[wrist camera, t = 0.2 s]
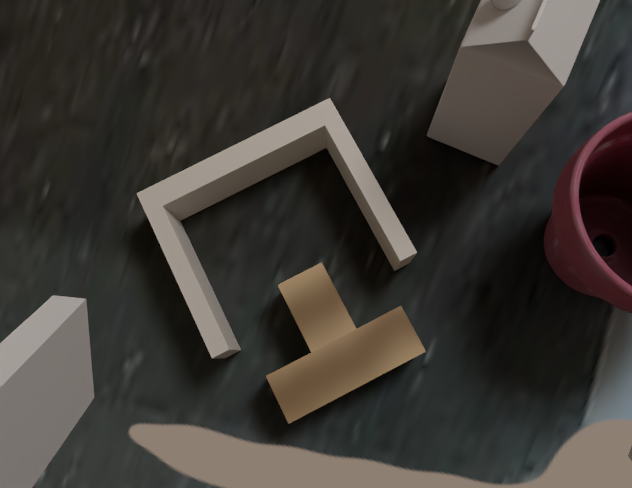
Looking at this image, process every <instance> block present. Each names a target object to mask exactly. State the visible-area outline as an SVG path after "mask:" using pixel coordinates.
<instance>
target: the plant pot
mask: <svg viewBox="0 0 632 488" xmlns="http://www.w3.org/2000/svg"><path fill="white" fill-rule="evenodd" d="M597 237H605V238H607V239H608V240H610V241H611V243H612V245H613V252H612V254H611V255H610V256H607V257H605V256H600V255H599V254H598V253H597V251H596V250H595V248H594V246H593V241H594V239H595V238H597ZM544 250H545V255H546V258H547V260H548V263H549V265H550V266H551V268H552V270H553V271H554V272H555V274H556V275H557V276H558V277H559V278H560V279H561V280H562V281H563V282H564V283H565V284H566V285H568V286H569V287H571V288H572V289H574V290H576V291H578V292H581V293H583V294H586V295H590V296H594V297H598V298H601V299H604V300H605V301H607V302H609V303H610V304H612V305H614V306H616V307H618V308H620V309H622V310H624V311H627V312H629V313H632V112H630V113H628V114H625V115H623V116H621V117H619V118H617V119H615V120H614V121H612V122H611V123H609V124H608V125H606V126H605V127H603V128H602V129H600V130H599V131H598V132H596V133H595V134H594V135H593V136H592V137H590V138H589V139H588V140H587V141H586V142H585V143H584V144H583V145H582V146H581V147H580V148H579V149H578V150H577V151H576V152H575V153H574V154H573V156H572V157H571V158H570V159H569V160H568V162H567V163H566V165H565V166H564V168H563V170H562V172H561V173H560V175H559V178H558V180H557V183H556V186H555V190H554V195H553V201H552V214H551V216H550V218H549V221H548V223H547V225H546V228H545V233H544Z"/></svg>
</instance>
